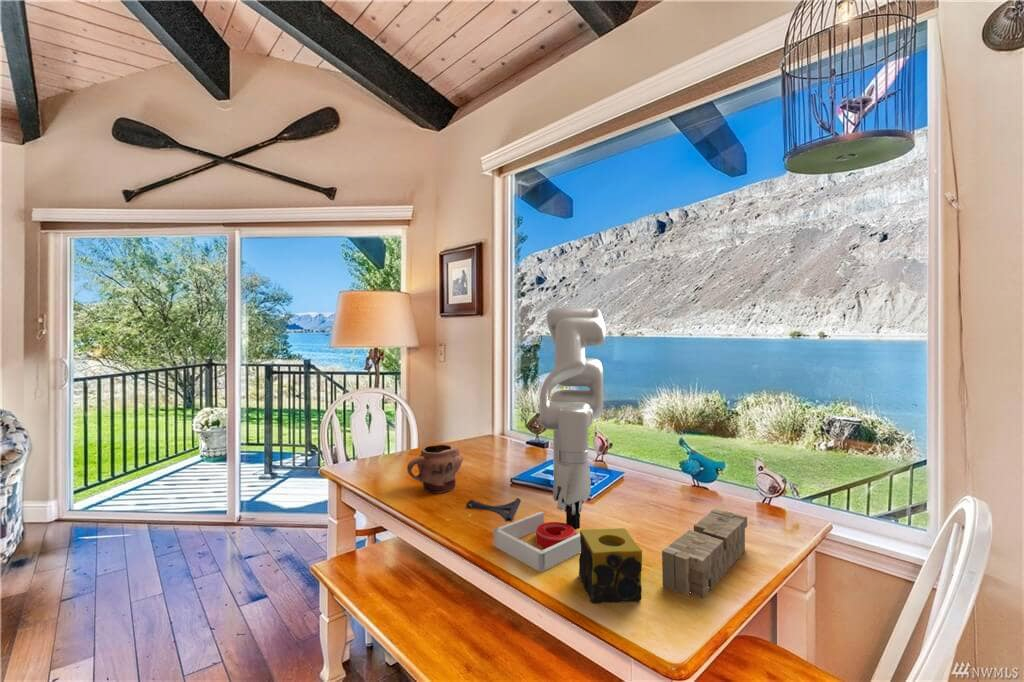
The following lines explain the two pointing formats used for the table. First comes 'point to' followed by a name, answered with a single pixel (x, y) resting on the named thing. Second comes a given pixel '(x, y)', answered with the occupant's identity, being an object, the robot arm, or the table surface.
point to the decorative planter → (437, 467)
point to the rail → (528, 554)
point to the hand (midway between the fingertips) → (573, 527)
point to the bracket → (497, 508)
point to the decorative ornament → (553, 533)
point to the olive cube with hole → (610, 565)
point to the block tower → (704, 553)
